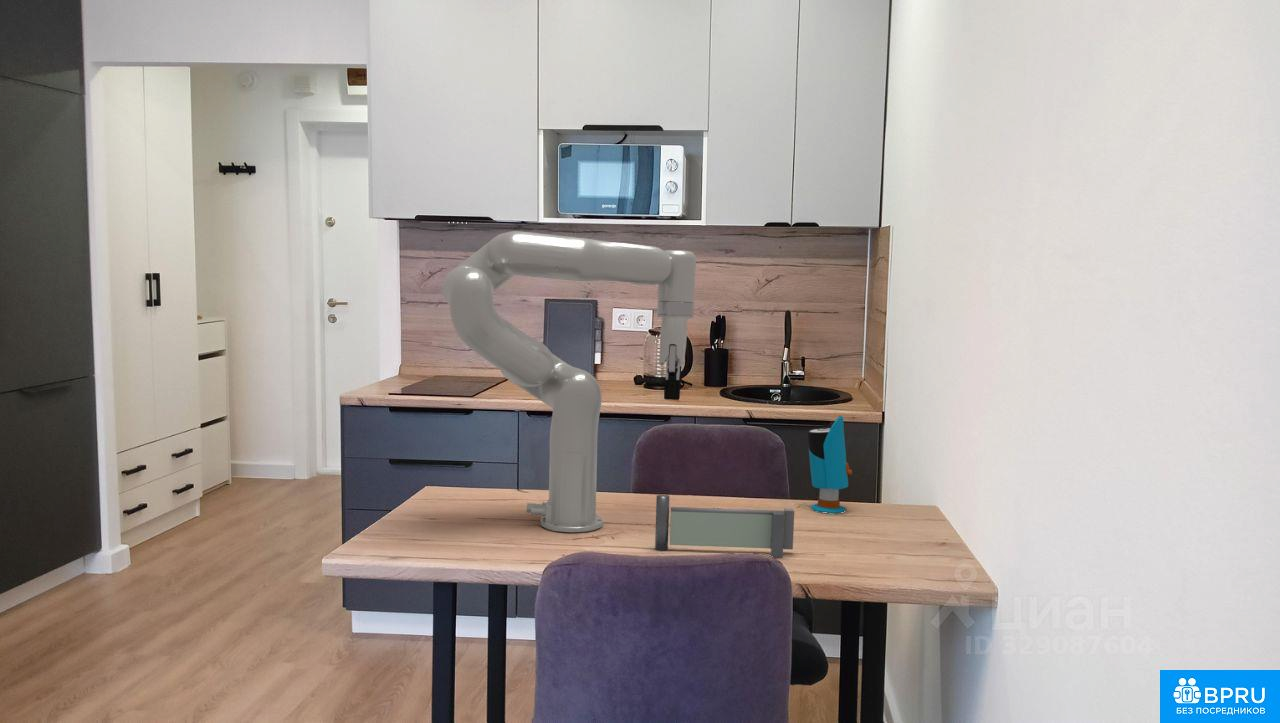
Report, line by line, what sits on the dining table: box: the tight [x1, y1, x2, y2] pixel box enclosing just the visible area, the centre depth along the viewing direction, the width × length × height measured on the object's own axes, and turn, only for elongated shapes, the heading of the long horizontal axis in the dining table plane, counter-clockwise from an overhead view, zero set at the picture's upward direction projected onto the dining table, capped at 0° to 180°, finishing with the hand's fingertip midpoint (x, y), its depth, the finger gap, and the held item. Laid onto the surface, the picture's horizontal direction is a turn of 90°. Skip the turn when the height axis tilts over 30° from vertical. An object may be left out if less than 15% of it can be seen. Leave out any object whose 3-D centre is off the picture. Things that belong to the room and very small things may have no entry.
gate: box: [669, 506, 795, 550], centre depth 171 cm, size 23×2×7 cm, turn 89°
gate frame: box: [654, 494, 785, 559], centre depth 170 cm, size 23×2×10 cm, turn 83°
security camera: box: [807, 415, 853, 513], centre depth 205 cm, size 8×21×10 cm
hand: (671, 399), depth 192 cm, fingers closed
